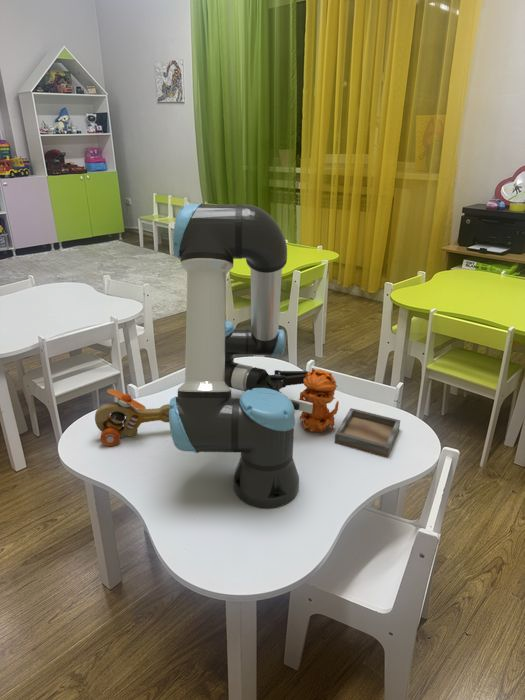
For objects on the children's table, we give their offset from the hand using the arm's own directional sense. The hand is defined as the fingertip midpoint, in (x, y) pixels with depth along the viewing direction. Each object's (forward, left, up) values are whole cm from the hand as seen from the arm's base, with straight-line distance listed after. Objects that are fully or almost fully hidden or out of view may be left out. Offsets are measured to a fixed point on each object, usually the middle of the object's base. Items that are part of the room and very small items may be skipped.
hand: (320, 396), depth 129 cm
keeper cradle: (+1, -14, -9) cm, 16 cm away
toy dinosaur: (-1, 0, -10) cm, 10 cm away
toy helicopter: (-27, +42, -10) cm, 51 cm away
